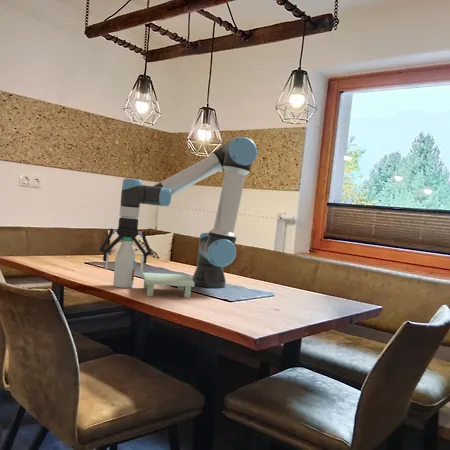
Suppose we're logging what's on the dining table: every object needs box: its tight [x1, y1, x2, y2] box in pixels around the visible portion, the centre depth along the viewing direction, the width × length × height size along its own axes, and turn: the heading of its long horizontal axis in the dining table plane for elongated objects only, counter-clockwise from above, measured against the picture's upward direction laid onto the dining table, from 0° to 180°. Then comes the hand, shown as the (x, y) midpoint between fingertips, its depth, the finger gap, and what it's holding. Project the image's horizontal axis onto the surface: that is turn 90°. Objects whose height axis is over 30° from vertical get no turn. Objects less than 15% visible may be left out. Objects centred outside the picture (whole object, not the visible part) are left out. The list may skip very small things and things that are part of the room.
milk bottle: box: [112, 237, 136, 289], centre depth 188 cm, size 8×8×20 cm
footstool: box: [141, 272, 196, 299], centre depth 184 cm, size 18×18×6 cm
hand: (123, 270), depth 188 cm, fingers open, 13 cm apart
